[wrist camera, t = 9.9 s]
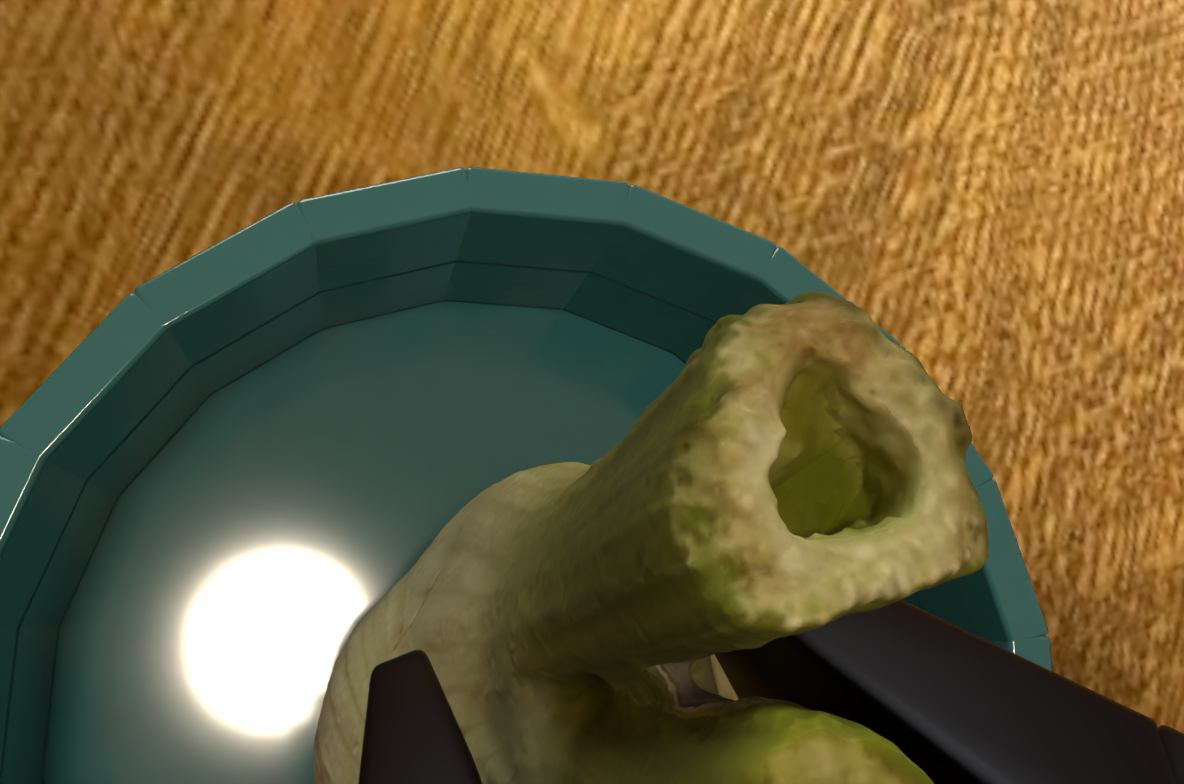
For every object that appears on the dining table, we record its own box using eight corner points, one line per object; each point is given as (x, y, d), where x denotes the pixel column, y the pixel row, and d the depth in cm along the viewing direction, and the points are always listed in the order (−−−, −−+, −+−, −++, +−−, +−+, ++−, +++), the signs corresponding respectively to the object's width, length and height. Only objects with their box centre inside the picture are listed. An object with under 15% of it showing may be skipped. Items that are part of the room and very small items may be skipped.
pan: (998, 969, 18) (1209, 1085, 13) (136, 1367, 14) (45, 1697, 10) (743, 203, 19) (859, 85, 15) (-81, 391, 16) (-240, 306, 11)
